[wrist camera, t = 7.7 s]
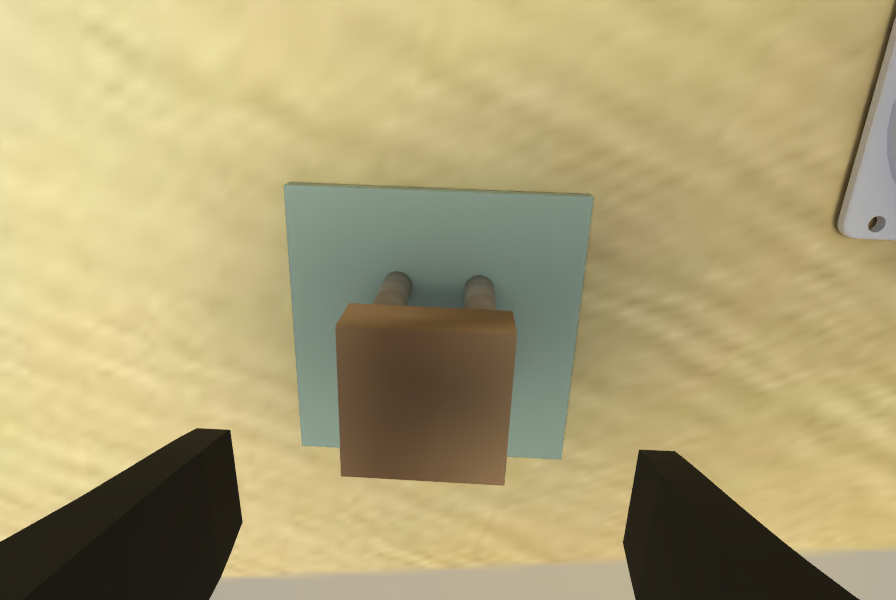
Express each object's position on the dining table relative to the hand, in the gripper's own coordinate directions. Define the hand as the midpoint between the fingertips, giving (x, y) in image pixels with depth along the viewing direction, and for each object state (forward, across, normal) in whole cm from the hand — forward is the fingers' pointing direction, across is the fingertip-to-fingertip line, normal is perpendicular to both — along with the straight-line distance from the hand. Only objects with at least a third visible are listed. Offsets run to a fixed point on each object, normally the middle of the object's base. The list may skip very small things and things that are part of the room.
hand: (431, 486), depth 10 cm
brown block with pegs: (+10, 0, +1) cm, 10 cm away
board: (+10, +1, +1) cm, 10 cm away
